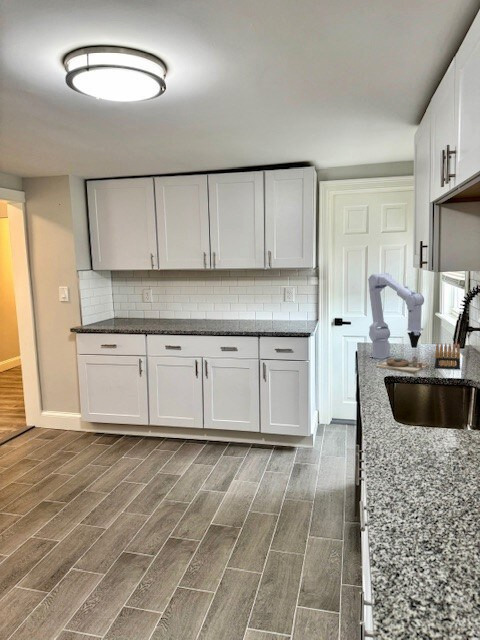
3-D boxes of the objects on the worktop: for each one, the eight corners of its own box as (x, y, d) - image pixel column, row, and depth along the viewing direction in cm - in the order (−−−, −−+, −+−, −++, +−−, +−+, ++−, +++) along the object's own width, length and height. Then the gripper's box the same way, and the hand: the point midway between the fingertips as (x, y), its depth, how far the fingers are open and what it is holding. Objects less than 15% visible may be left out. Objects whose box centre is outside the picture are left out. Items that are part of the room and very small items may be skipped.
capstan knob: (383, 365, 213) (383, 356, 212) (390, 360, 220) (390, 352, 220) (413, 368, 204) (413, 359, 204) (419, 363, 212) (420, 355, 211)
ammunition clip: (434, 368, 208) (435, 343, 206) (434, 367, 210) (435, 342, 208) (460, 369, 205) (460, 343, 203) (459, 368, 206) (460, 343, 205)
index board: (392, 360, 225) (392, 355, 225) (429, 366, 211) (429, 360, 211) (375, 367, 214) (375, 361, 214) (413, 373, 201) (413, 367, 200)
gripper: (426, 321, 202) (425, 350, 204) (420, 317, 216) (420, 344, 218) (410, 321, 204) (409, 350, 206) (405, 317, 218) (404, 344, 220)
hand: (413, 347), depth 212 cm, fingers closed
